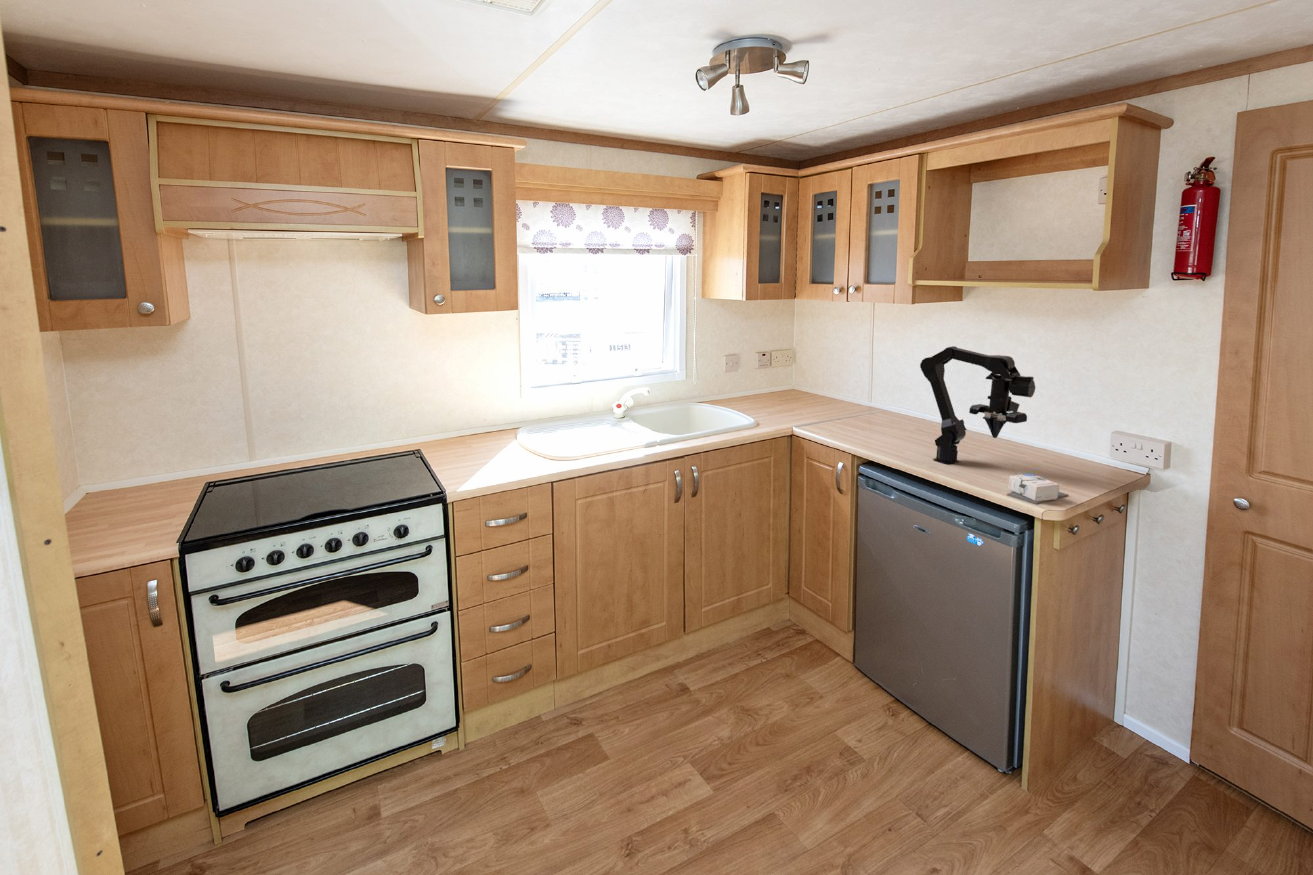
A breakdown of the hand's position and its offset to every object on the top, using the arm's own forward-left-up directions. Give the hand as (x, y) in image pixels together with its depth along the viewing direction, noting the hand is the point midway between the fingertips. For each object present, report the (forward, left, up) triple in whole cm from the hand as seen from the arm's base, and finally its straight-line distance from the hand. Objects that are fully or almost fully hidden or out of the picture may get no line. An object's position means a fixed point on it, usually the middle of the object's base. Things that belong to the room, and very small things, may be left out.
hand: (994, 437), depth 252 cm
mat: (+24, -10, -12) cm, 29 cm away
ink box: (+18, -10, -9) cm, 23 cm away
